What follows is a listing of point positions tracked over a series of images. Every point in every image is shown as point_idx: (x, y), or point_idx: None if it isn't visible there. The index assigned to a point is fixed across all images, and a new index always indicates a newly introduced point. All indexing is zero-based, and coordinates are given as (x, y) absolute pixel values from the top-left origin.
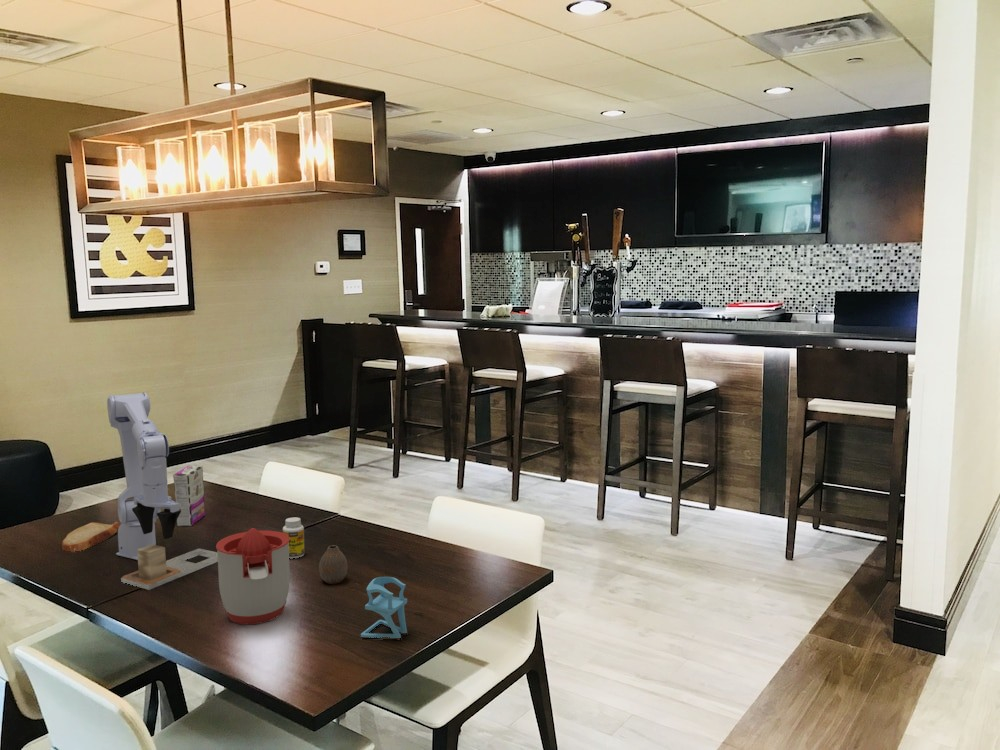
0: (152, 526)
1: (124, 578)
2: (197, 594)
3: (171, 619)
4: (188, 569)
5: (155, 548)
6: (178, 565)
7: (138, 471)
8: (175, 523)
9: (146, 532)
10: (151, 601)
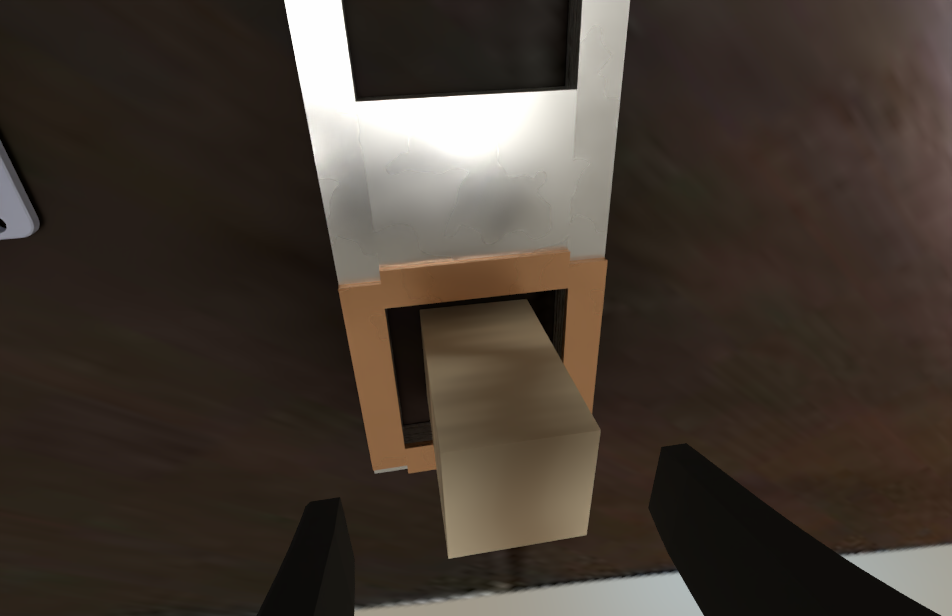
0: (328, 550)
1: (396, 467)
2: (822, 333)
3: (846, 487)
4: (608, 196)
5: (552, 481)
6: (490, 190)
7: None
8: (847, 560)
9: (352, 564)
10: None
